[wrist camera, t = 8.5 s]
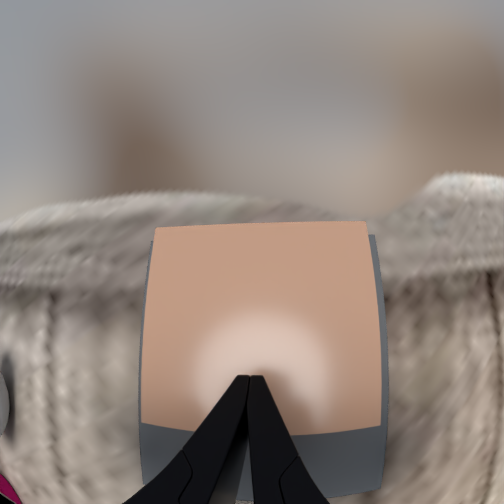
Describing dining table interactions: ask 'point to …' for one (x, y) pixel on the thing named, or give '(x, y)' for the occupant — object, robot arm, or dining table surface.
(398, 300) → the dining table surface
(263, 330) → the terracotta tile
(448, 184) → the dining table surface
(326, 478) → the rubber mat
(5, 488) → the pepper mill
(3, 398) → the donut
